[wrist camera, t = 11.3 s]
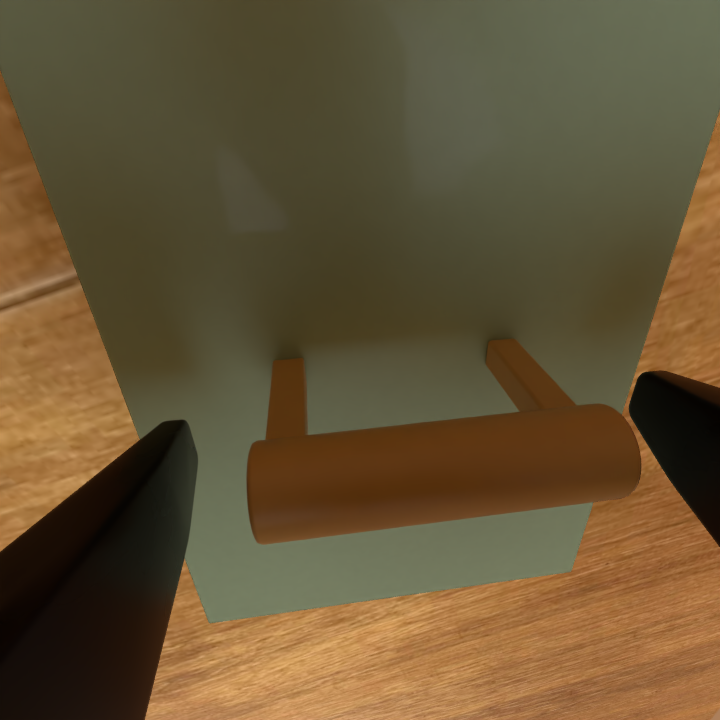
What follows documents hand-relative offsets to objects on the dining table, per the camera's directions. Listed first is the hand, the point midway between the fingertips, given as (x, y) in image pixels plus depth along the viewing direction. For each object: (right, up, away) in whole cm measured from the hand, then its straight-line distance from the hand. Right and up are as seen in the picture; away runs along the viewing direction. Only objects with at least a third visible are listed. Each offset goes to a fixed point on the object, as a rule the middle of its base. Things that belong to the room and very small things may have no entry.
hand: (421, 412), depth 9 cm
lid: (0, 0, +3) cm, 3 cm away
